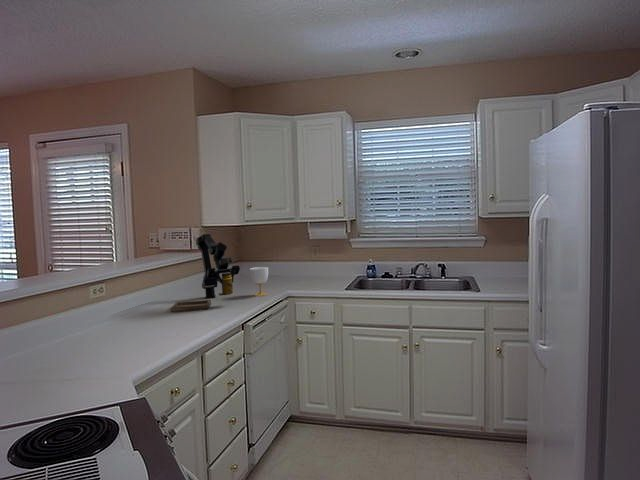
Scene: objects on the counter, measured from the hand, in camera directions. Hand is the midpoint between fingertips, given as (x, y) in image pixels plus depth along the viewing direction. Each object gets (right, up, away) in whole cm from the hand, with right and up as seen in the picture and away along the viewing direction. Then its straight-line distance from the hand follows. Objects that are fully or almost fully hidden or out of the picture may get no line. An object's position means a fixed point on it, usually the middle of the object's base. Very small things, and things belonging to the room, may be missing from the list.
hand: (227, 282), depth 267 cm
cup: (+15, -11, +30) cm, 35 cm away
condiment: (-1, -7, +1) cm, 7 cm away
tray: (-20, -15, 0) cm, 25 cm away
